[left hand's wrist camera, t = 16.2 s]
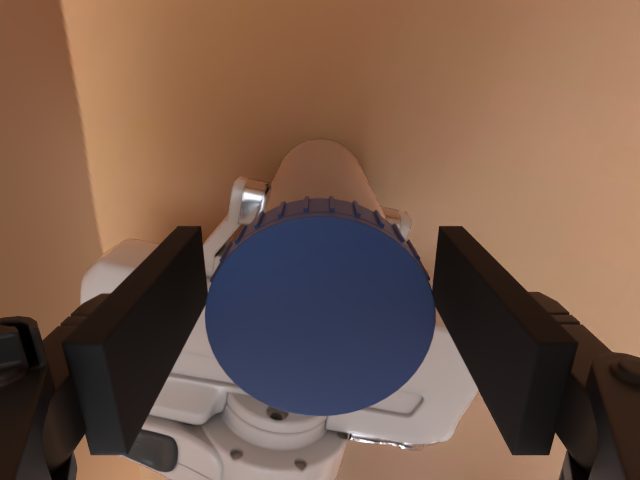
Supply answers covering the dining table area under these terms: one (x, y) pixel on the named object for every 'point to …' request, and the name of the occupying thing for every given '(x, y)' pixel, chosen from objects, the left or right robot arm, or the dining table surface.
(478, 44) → the dining table surface
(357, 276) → the lid
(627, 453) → the left robot arm
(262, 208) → the grey tall cylinder
